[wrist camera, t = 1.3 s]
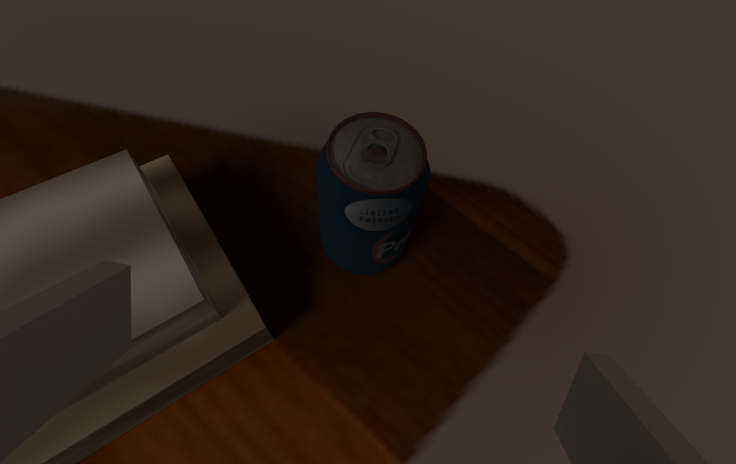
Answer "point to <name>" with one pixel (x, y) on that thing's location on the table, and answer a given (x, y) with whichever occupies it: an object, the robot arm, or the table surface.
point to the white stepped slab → (148, 293)
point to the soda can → (370, 190)
